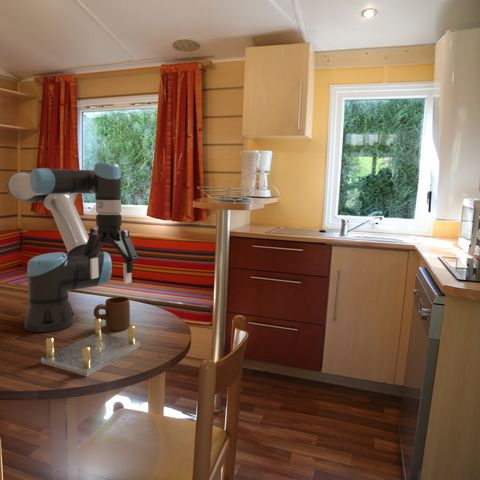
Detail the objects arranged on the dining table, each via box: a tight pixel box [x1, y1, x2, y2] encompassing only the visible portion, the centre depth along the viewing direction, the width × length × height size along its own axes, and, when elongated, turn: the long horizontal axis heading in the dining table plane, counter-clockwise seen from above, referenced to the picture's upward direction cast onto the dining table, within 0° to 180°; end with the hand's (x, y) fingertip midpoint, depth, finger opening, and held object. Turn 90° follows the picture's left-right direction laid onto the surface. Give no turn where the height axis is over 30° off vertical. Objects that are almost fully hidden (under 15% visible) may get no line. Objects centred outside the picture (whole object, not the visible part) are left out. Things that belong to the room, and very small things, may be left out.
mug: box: [93, 296, 131, 332], centre depth 128 cm, size 12×8×9 cm, turn 137°
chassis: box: [40, 317, 141, 377], centre depth 109 cm, size 16×20×6 cm
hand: (110, 280), depth 126 cm, fingers open, 13 cm apart
